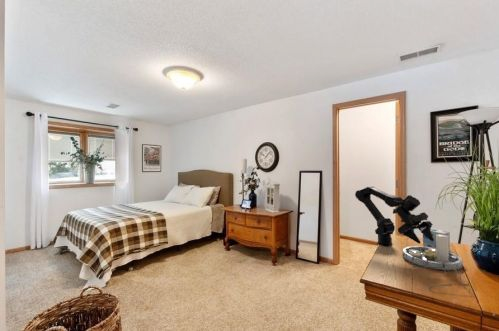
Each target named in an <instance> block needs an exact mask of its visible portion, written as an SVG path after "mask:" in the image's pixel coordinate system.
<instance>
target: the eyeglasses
mask: <svg viewBox="0 0 499 331" xmlns="http://www.w3.org/2000/svg"><path fill="white" fill-rule="evenodd" d="M448 266H449V265H448ZM428 268H445V266H444V267H420V266H417V267H416V266H413V267H411V268H410V272H412V271H413V269H428ZM451 268H452V267H451ZM454 270H456V269H454ZM443 272H444V273H445V274H447V271H445V269H444V271H443ZM454 272H455V275H456V277H455V280H457V278H458V275H459V279H460V282H461V285H462V286H464V287H465V284H464V283H463V281H462V276H463V277H465V279H466V280H467V286H468V292H470V287H471V286H470V283H469V280H468V278H467V277H466V275H464V274H463V273H461V272H460V270H457V271H454ZM432 286H435V287H436V286H437V287H438V286H439V287H440V286H442V287H443V286H444V287H445V286H451V284H430V285H429V286H428V288H429V290H432V288H431V287H432Z"/></svg>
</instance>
